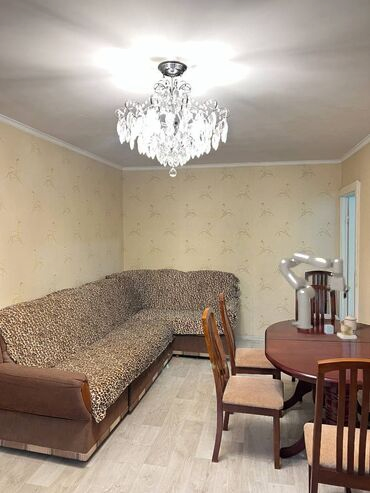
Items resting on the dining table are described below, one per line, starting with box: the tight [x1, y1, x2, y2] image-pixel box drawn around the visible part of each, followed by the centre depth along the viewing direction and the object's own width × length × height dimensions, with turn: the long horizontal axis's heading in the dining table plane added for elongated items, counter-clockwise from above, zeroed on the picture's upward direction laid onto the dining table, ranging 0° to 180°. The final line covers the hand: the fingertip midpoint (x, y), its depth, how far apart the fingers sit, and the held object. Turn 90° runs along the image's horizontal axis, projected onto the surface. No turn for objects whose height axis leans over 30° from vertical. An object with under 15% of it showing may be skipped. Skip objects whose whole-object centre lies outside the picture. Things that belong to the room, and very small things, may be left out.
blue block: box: [323, 324, 335, 335], centre depth 277 cm, size 5×5×6 cm
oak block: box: [340, 324, 354, 336], centre depth 265 cm, size 6×6×6 cm
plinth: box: [336, 332, 358, 340], centre depth 265 cm, size 10×10×2 cm
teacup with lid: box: [339, 314, 357, 331], centre depth 288 cm, size 12×9×12 cm
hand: (338, 297), depth 276 cm, fingers open, 9 cm apart
